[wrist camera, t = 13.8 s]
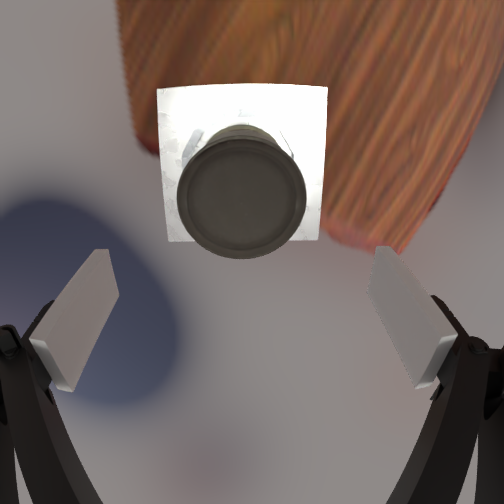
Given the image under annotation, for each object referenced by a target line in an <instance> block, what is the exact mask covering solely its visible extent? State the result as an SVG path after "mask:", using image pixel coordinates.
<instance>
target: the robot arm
mask: <svg viewBox="0 0 504 504" xmlns="http://www.w3.org/2000/svg"><path fill="white" fill-rule="evenodd" d="M367 294H368V296H369V298H370V300H371V301H372V303H373V305H374V307H375V309H376V310H377V313H378V315H379V316H380V318H381V320H382V322H383V324H384V326H385V328H386V330H387V332H388V334H389V336H390V338H391V340H392V342H393V344H394V346H395V348H396V350H397V352H398V354H399V356H400V358H401V360H402V362H403V364H404V366H405V368H406V370H407V372H408V375H409V377H410V379H411V381H412V383H413V385H414V387H415V389H418V388H422V387H427V386H430V385H431V384H432V383H433V381H434V379H435V377H436V376H437V377H438V378H439V380H440V384H439V385H438V387H437V389H436V390H435V392H434V394H433V396H432V397H431V398H430V400H433V401H432V404H431V407H430V410H429V412H428V415H427V418H426V420H425V423H424V425H423V428H422V430H421V433H420V435H419V438H418V440H417V443H416V445H415V447H414V449H413V451H412V454H411V456H410V458H409V460H408V462H407V464H406V467H405V469H404V471H403V473H402V475H401V477H400V479H399V481H398V482H397V484H396V486H395V488H394V490H393V492H392V494H391V496H390V497H389V499H388V501H387V503H386V504H456V503H457V500H458V497H459V495H460V492H461V489H462V486H463V483H464V480H465V477H466V474H467V471H468V468H469V465H470V461H471V458H472V454H473V450H474V447H475V443H476V439H477V435H478V465H477V482H476V493H475V502H474V504H504V346H503V348H502V349H491V348H489V346H488V345H487V343H485V342H484V341H483V340H482V339H480V338H478V337H474V336H470V337H469V335H468V334H467V333H466V331H465V330H464V328H463V327H462V326H461V324H460V323H459V322H458V320H457V319H456V317H454V315H453V313H452V312H451V311H449V308H448V307H447V306H446V304H445V303H444V302H443V301H442V300H440V299H439V298H438V297H436V296H435V295H431V296H430V295H429V294H428V292H427V291H426V290H425V289H424V287H423V286H422V285H421V283H420V282H419V281H418V280H417V278H416V277H415V276H414V275H413V273H412V272H411V271H410V270H409V268H408V267H407V266H406V265H405V264H404V262H403V261H402V260H401V259H400V257H399V256H398V255H397V254H396V253H395V251H394V250H393V249H392V248H391V247H390V246H376V252H375V257H374V262H373V267H372V271H371V276H370V281H369V285H368V289H367ZM118 297H119V292H118V288H117V285H116V281H115V277H114V273H113V268H112V264H111V260H110V255H109V251H108V249H95V250H94V251H93V252H92V254H91V255H90V256H89V257H88V259H87V260H86V261H85V263H84V264H83V265H82V266H81V267H80V269H79V270H78V271H77V272H76V274H75V275H74V276H73V277H72V279H71V280H70V281H69V283H68V284H67V285H66V287H65V288H64V289H63V291H62V292H61V293H60V295H59V296H58V297H57V299H56V300H52V301H50V302H49V303H48V304H46V305H45V306H44V307H43V308H42V310H41V311H40V312H39V314H38V316H36V318H35V319H34V322H32V324H31V325H30V327H29V328H28V329H27V331H26V332H25V334H24V335H23V337H22V338H20V336H19V334H18V332H17V330H16V328H15V327H14V326H13V325H3V326H0V504H19V499H18V490H17V482H16V471H15V457H14V448H15V451H16V455H17V459H18V462H19V465H20V468H21V471H22V474H23V477H24V480H25V483H26V486H27V489H28V491H29V494H30V497H31V499H32V502H33V504H103V503H102V501H101V499H100V498H99V496H98V494H97V492H96V490H95V489H94V487H93V485H92V483H91V481H90V479H89V478H88V476H87V474H86V472H85V470H84V468H83V466H82V464H81V462H80V460H79V458H78V455H77V454H76V451H75V449H74V447H73V445H72V442H71V440H70V438H69V435H68V433H67V431H66V428H65V426H64V423H63V421H62V418H61V416H60V413H59V410H58V408H57V405H56V402H55V399H54V397H53V394H52V391H51V390H50V389H49V384H50V383H51V380H52V381H53V382H54V384H55V386H56V387H57V388H58V389H59V390H64V391H69V392H73V391H74V389H75V386H76V384H77V382H78V379H79V377H80V375H81V372H82V371H83V368H84V366H85V364H86V362H87V359H88V357H89V355H90V353H91V351H92V349H93V347H94V345H95V343H96V341H97V338H98V336H99V334H100V332H101V330H102V328H103V326H104V324H105V322H106V320H107V318H108V316H109V314H110V312H111V310H112V308H113V306H114V305H115V303H116V301H117V299H118Z"/></svg>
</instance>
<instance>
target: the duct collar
mask: <svg viewBox="0 0 504 504" xmlns="http://www.w3.org/2000/svg"><path fill="white" fill-rule="evenodd" d="M157 108H158V130H159V147H160V161H161V173H162V186H163V196H164V206H165V216H166V225H167V233H168V241H169V242H183V241H184V242H188V241H189V242H190V241H195V240H194V239H193V238H192V237H191V236H190V235H189V233H188V232H187V231H186V229H185V227H184V226H183V224H182V221H181V219H180V216H179V213H178V208H177V187H178V182H179V179H180V176H181V174H182V171H183V170H184V168H185V166H186V165H187V163H188V162H189V160H190V159H191V158H192V157H193V156H194V155H195V154H196V153H197V152H198V151H199V150H200V149H202V148H203V147H204V146H205V144H206V143H207V141H208V140H209V139H210V138H211V137H212V136H213V135H214V134H215V133H217V132H218V131H220V130H222V129H224V128H226V127H228V126H232V125H240V124H247V125H252V126H255V127H258V128H261V129H262V130H264V131H266V132H267V133H269V134H270V135H271V136H272V137H273V138H274V139H275V140H276V141H277V143H278V145H279V146H280V147H281V148H282V149H283V150H284V151H285V152H287V153H288V154H289V155H290V156H291V158H292V159H293V160H294V161H295V163H296V164H297V165H298V167H299V169H300V171H301V173H302V175H303V178H304V181H305V185H306V192H307V203H306V210H305V213H304V216H303V219H302V221H301V224H300V226H299V227H298V229H297V230H296V232H295V233H294V234H293V236H292V237H291V238H290V239H289V240H318V233H319V223H320V212H321V200H322V186H323V172H324V156H325V137H326V113H327V87H316V86H302V85H282V84H219V85H199V86H185V87H173V88H163V89H157Z"/></svg>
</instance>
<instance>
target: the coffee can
mask: <svg viewBox="0 0 504 504" xmlns="http://www.w3.org/2000/svg"><path fill="white" fill-rule="evenodd" d="M306 203H307V192H306V185H305V181H304V178H303V175H302V173H301V171H300V169H299V167H298V165H297V164H296V163H295V161H294V160H293V159H292V158H291V156H290V155H289V154H288V153H287V152H285V151H284V150H283V149H282V148H281V147H280V146H279V145H278V143H277V141H276V140H275V139H274V138H273V137H272V136H271V135H270V134H269V133H267V132H266V131H264V130H262V129H261V128H258V127H255V126H252V125H247V124H240V125H232V126H228V127H226V128H224V129H222V130H220V131H218V132H217V133H215V134H214V135H213V136H212V137H211V138H210V139H209V140H208V141H207V143H206V144H205V146H204V147H203V148H202V149H200V150H199V151H198V152H197V153H196V154H195V155H194V156H193V157H192V158H191V159H190V160H189V162H188V163H187V165H186V166H185V168H184V170H183V171H182V174H181V176H180V179H179V182H178V187H177V208H178V213H179V216H180V219H181V221H182V224H183V226H184V227H185V229H186V231H187V232H188V233H189V235H190V236H191V237H192V238H193V239H194V240H195V241H196V242H197V243H198V244H199V245H201V246H202V247H204V248H205V249H206V250H208V251H210V252H212V253H214V254H217V255H219V256H223V257H227V258H233V259H250V258H256V257H260V256H264V255H266V254H269V253H271V252H272V251H274V250H276V249H277V248H279V247H281V246H282V245H283V244H284V243H286V242H287V241H288V240H289V239H290V238H291V237H292V236H293V234H294V233H295V232H296V230H297V229H298V227H299V226H300V224H301V221H302V219H303V216H304V213H305V210H306Z"/></svg>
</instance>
